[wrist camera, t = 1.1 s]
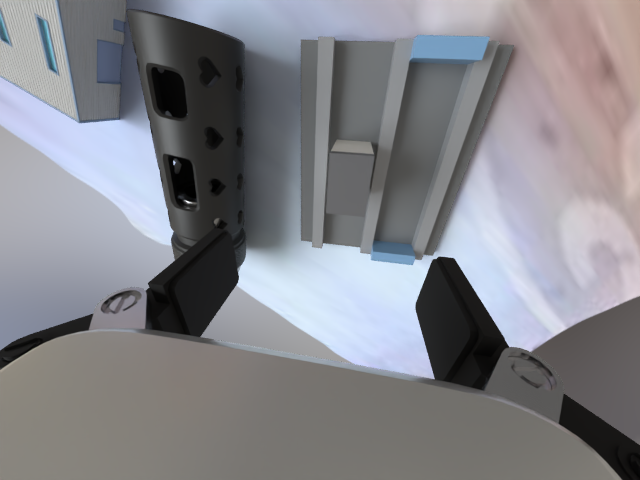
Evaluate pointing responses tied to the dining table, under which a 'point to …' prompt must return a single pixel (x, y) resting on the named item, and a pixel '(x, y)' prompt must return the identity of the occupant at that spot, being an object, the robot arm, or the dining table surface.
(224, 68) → the muzzle brake
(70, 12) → the warehouse
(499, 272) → the dining table surface
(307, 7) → the dining table surface
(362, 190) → the grey rectangular prism
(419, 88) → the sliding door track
